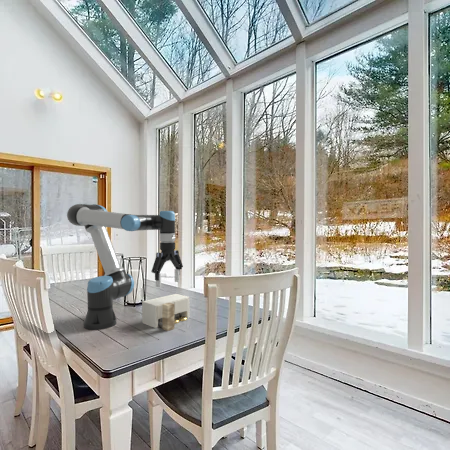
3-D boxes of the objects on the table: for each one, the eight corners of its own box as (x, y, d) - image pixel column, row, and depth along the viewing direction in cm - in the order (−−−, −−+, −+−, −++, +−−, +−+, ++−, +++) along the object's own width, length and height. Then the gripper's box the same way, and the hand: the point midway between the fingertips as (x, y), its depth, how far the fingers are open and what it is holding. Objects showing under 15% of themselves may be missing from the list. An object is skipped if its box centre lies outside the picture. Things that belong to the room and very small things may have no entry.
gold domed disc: (182, 322, 164) (182, 319, 164) (176, 320, 167) (176, 318, 167) (188, 320, 167) (188, 317, 167) (183, 318, 170) (183, 316, 170)
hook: (167, 331, 150) (167, 305, 150) (152, 325, 158) (152, 301, 158) (194, 322, 163) (194, 298, 162) (178, 317, 171) (178, 294, 170)
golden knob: (174, 324, 160) (174, 322, 160) (168, 322, 163) (168, 320, 163) (181, 322, 163) (181, 320, 163) (175, 320, 166) (175, 318, 166)
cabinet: (155, 328, 154) (155, 305, 153) (142, 323, 161) (142, 301, 161) (189, 317, 170) (189, 297, 170) (176, 313, 178) (176, 293, 177)
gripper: (155, 243, 146) (155, 290, 147) (189, 240, 167) (189, 280, 168) (143, 243, 150) (144, 288, 151) (178, 240, 171) (178, 279, 172)
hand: (168, 284), depth 159 cm, fingers open, 13 cm apart
